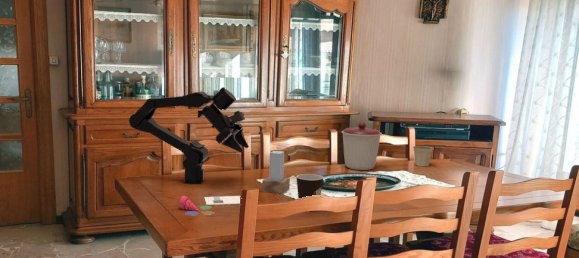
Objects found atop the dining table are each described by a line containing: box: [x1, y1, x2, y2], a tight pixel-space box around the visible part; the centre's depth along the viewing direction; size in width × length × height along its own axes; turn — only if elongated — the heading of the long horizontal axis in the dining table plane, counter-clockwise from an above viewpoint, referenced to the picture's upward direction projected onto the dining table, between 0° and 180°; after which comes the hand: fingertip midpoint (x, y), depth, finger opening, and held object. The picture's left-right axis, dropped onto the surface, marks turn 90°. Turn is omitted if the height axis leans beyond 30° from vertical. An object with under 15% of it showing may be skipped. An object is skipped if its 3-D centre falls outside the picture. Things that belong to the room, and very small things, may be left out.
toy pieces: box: [178, 195, 216, 217], centre depth 152 cm, size 12×11×4 cm
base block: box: [261, 176, 291, 195], centre depth 180 cm, size 8×8×4 cm
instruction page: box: [204, 195, 241, 206], centre depth 164 cm, size 12×9×1 cm
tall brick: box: [268, 150, 285, 181], centre depth 179 cm, size 4×5×10 cm
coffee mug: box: [296, 173, 325, 199], centre depth 159 cm, size 12×9×10 cm
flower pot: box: [412, 145, 434, 167], centre depth 235 cm, size 9×9×9 cm
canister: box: [341, 121, 383, 171], centre depth 223 cm, size 18×18×21 cm
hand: (245, 149), depth 184 cm, fingers open, 9 cm apart
